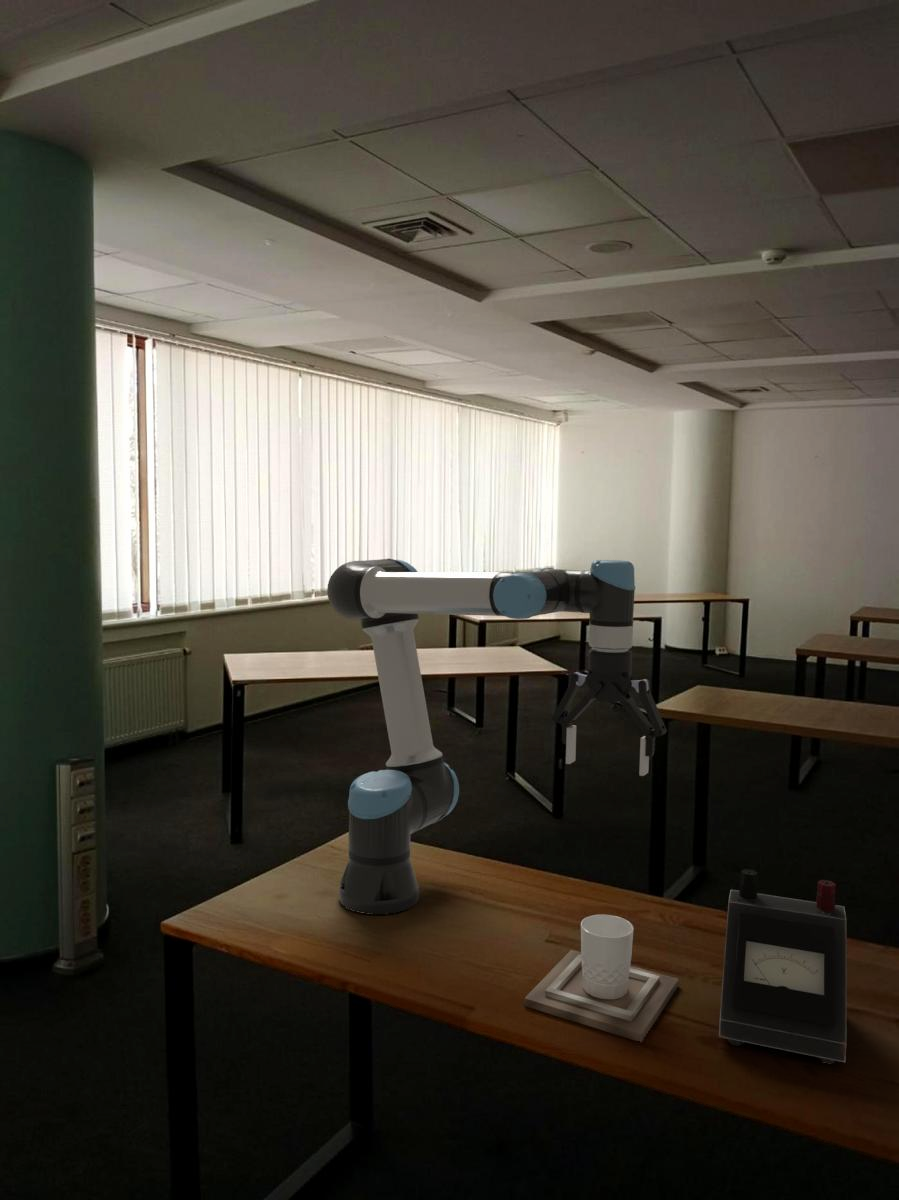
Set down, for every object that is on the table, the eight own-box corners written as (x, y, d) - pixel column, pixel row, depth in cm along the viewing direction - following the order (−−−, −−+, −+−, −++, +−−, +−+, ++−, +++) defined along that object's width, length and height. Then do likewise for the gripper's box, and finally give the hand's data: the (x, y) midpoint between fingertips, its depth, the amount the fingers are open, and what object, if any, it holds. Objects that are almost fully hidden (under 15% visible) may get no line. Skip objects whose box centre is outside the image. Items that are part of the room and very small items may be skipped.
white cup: (598, 1007, 133) (601, 941, 132) (568, 982, 140) (570, 919, 139) (642, 995, 137) (644, 931, 136) (610, 971, 144) (612, 910, 143)
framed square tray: (524, 1005, 136) (524, 993, 135) (571, 956, 151) (571, 945, 151) (641, 1042, 127) (641, 1028, 126) (678, 986, 142) (678, 973, 142)
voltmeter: (718, 1047, 126) (724, 908, 124) (725, 991, 141) (731, 866, 139) (844, 1074, 120) (853, 928, 118) (838, 1011, 136) (845, 882, 134)
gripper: (687, 652, 156) (682, 773, 158) (553, 640, 168) (550, 753, 170) (674, 658, 149) (669, 784, 151) (536, 645, 162) (533, 762, 164)
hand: (606, 768), depth 161 cm, fingers open, 13 cm apart
